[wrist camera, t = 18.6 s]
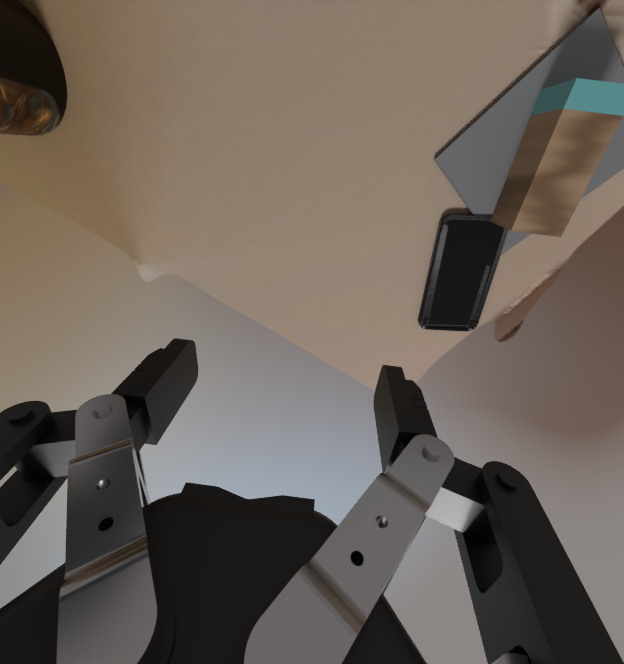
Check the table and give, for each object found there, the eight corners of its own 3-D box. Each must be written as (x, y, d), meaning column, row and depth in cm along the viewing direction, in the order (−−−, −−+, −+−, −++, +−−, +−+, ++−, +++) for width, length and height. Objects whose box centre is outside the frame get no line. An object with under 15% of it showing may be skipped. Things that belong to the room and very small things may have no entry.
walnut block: (511, 230, 30) (576, 77, 24) (489, 221, 35) (540, 89, 29) (560, 236, 30) (638, 85, 24) (533, 227, 35) (593, 96, 29)
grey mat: (433, 159, 33) (435, 159, 32) (595, 10, 26) (599, 7, 26) (499, 253, 37) (501, 254, 37) (651, 145, 31) (655, 145, 30)
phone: (417, 328, 42) (442, 214, 35) (416, 324, 43) (440, 213, 36) (476, 331, 42) (514, 216, 34) (472, 327, 43) (509, 215, 35)
